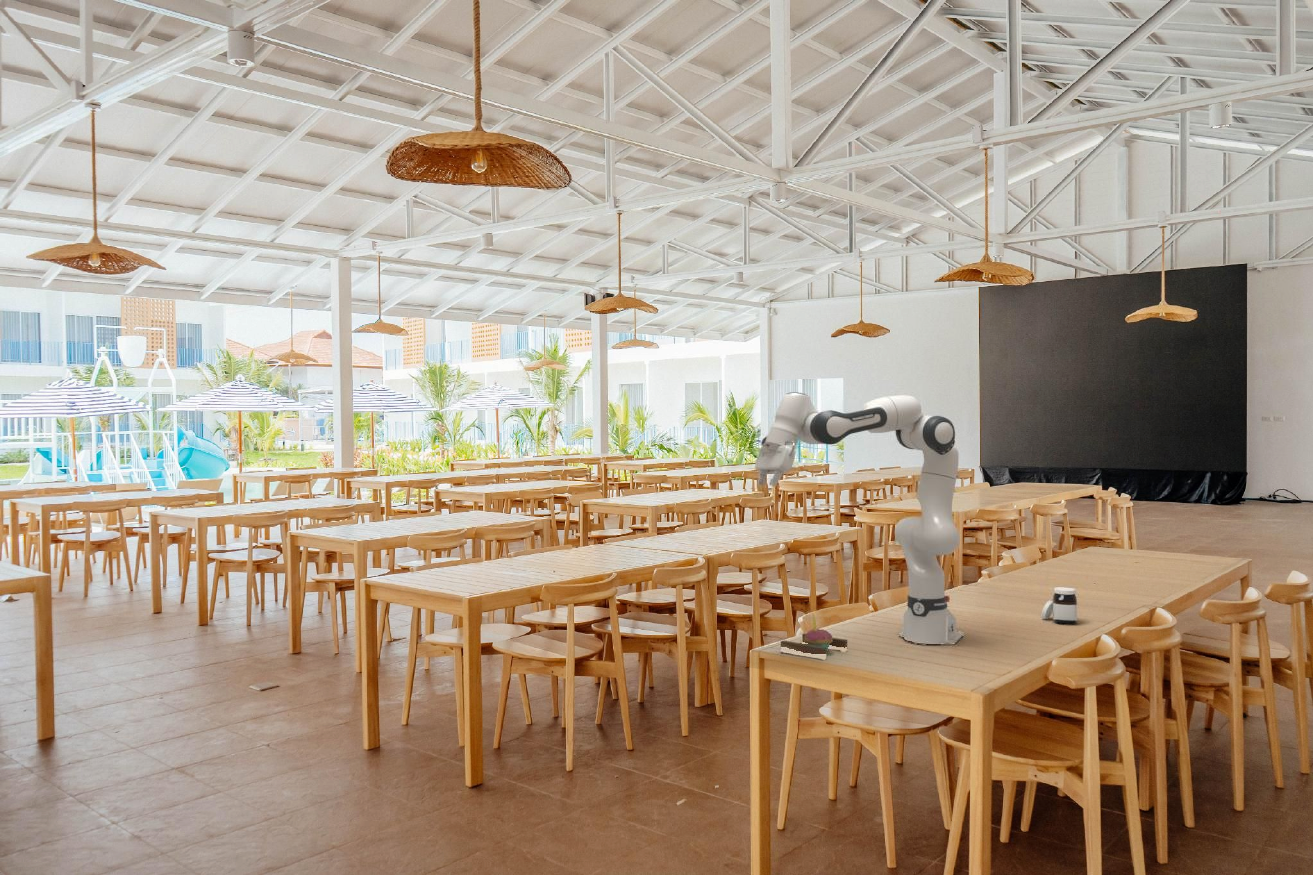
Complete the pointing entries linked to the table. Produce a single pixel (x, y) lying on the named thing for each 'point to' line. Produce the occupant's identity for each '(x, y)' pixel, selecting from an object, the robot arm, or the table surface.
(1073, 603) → the spread jar
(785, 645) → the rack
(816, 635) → the cupcake
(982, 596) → the table surface
